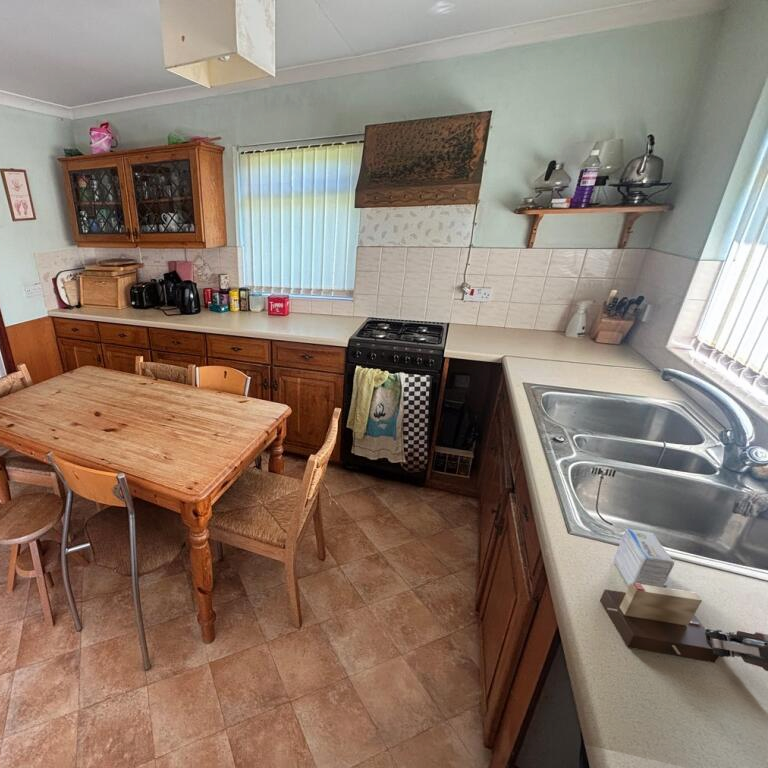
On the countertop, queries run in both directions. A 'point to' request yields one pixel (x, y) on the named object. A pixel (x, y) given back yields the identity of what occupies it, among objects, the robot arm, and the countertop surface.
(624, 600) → the dial pointer
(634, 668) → the countertop surface
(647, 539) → the medicine box
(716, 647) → the robot arm
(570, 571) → the countertop surface
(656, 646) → the dark brown flat slab
